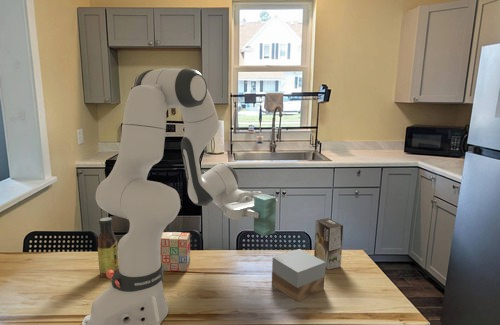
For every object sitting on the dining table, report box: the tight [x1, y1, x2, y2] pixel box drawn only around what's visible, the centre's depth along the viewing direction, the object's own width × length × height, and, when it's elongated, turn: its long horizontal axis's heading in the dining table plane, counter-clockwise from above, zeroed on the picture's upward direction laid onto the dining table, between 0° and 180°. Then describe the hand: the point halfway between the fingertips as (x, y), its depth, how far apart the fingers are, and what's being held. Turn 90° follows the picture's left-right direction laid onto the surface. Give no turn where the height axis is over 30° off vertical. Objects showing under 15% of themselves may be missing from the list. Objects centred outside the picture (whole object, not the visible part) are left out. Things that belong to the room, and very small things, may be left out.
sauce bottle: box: [96, 216, 119, 278], centre depth 116 cm, size 7×6×20 cm
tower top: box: [271, 248, 326, 288], centre depth 109 cm, size 12×12×5 cm
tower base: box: [271, 271, 325, 303], centre depth 110 cm, size 12×12×5 cm
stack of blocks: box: [161, 231, 191, 272], centre depth 122 cm, size 21×6×12 cm, turn 89°
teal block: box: [253, 193, 277, 237], centre depth 110 cm, size 5×5×12 cm
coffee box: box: [313, 217, 344, 270], centre depth 126 cm, size 9×6×16 cm
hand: (266, 213), depth 109 cm, fingers closed on teal block, 5 cm apart
